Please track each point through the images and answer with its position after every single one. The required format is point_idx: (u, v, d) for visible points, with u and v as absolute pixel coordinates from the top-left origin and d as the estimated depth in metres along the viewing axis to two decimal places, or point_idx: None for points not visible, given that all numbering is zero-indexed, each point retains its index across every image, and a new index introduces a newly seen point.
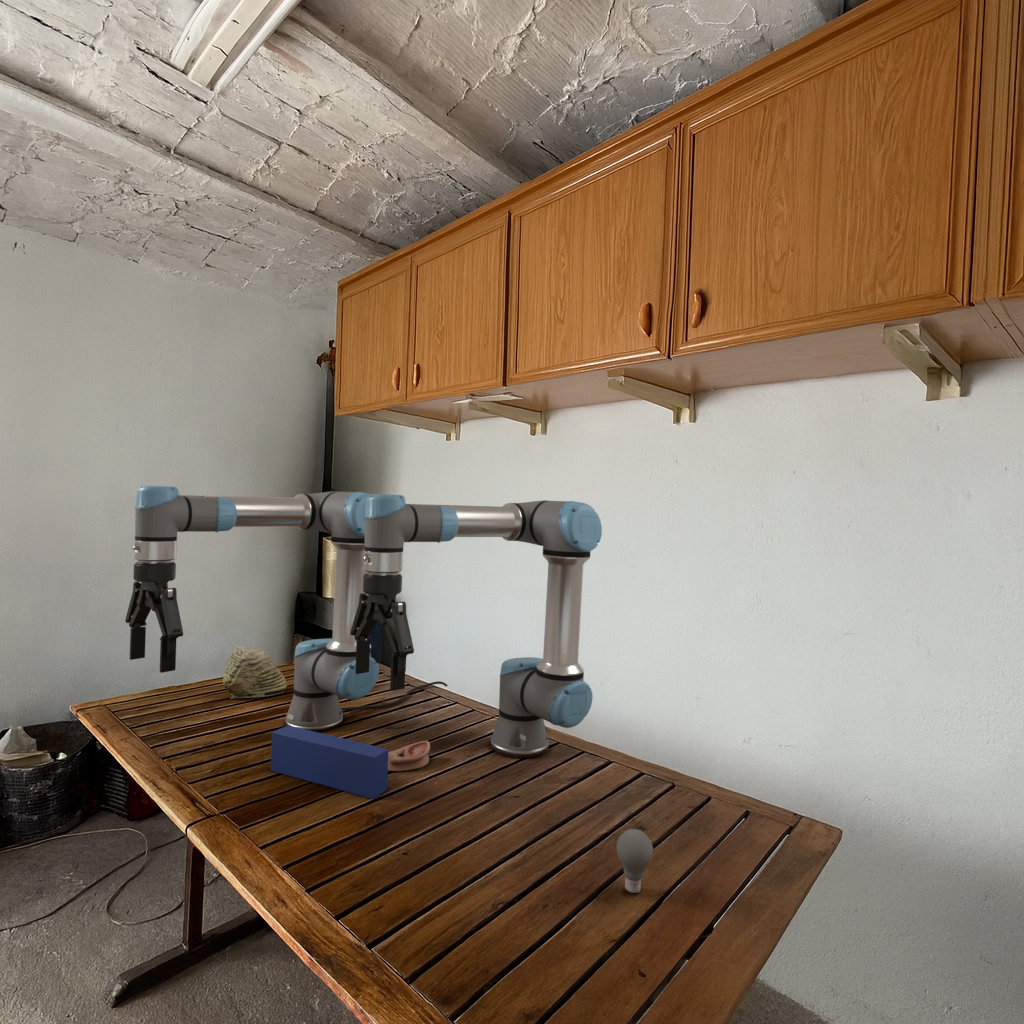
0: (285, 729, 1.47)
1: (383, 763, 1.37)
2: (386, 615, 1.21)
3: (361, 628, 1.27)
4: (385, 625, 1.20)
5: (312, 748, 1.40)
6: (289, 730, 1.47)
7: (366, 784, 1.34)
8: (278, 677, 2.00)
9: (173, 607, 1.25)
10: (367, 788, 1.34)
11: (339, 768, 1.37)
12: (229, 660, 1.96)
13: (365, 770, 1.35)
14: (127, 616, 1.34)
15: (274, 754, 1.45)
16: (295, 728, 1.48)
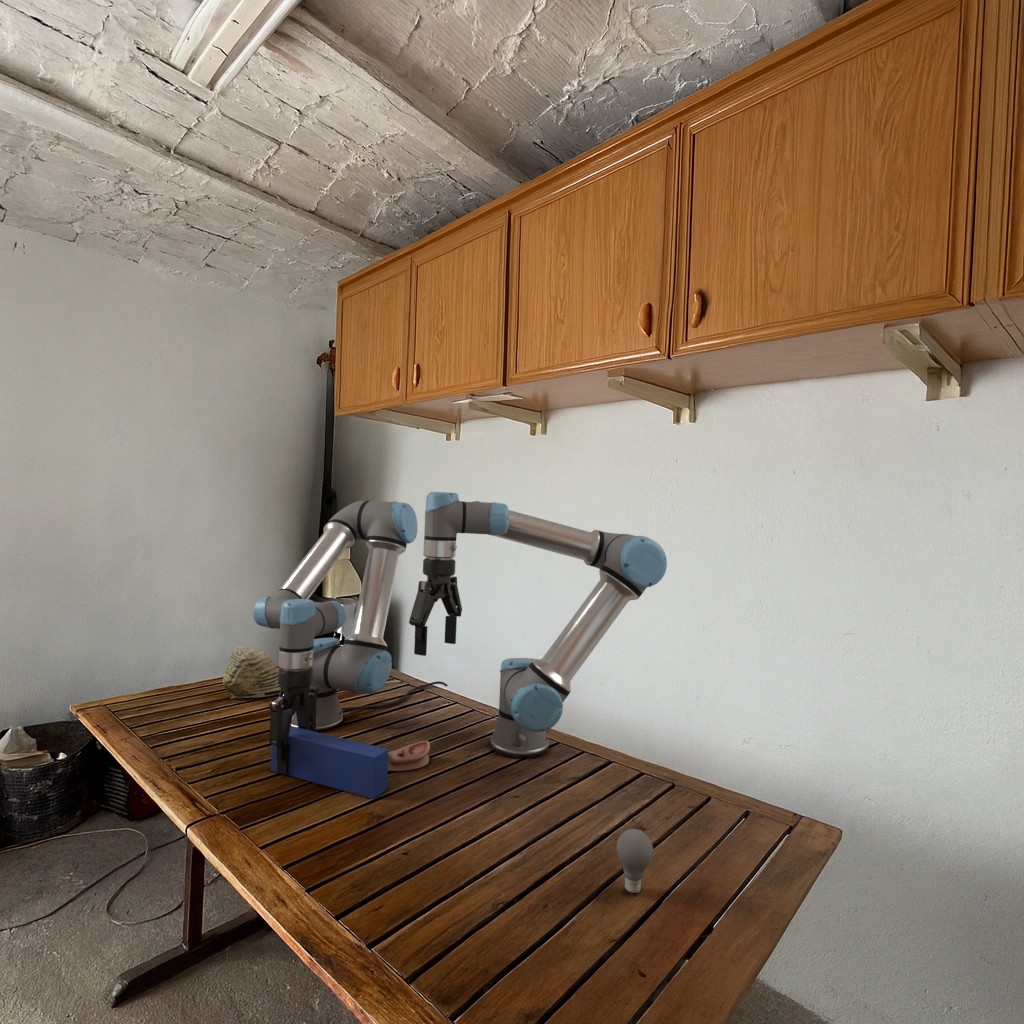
0: None
1: (383, 763, 1.37)
2: None
3: (429, 612, 1.42)
4: None
5: (312, 748, 1.40)
6: None
7: (366, 784, 1.34)
8: None
9: None
10: (367, 788, 1.34)
11: (339, 768, 1.37)
12: (229, 660, 1.96)
13: (365, 770, 1.35)
14: (279, 738, 1.40)
15: (274, 754, 1.45)
16: (295, 728, 1.48)
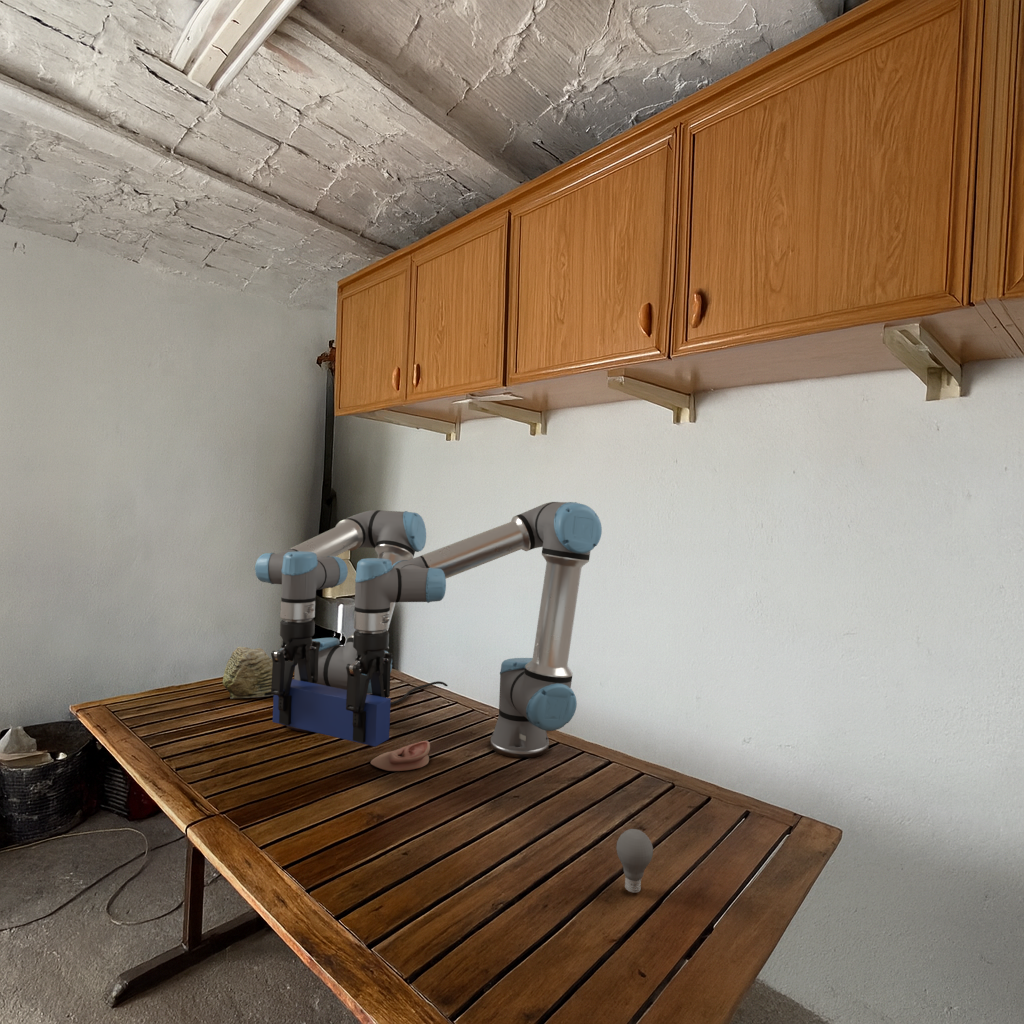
0: None
1: (386, 712, 1.37)
2: None
3: (365, 694, 1.34)
4: (380, 675, 1.39)
5: (314, 698, 1.40)
6: (291, 682, 1.47)
7: (368, 732, 1.34)
8: None
9: None
10: (369, 736, 1.34)
11: (341, 717, 1.37)
12: (229, 660, 1.96)
13: (368, 718, 1.34)
14: (281, 688, 1.40)
15: (276, 705, 1.45)
16: (297, 681, 1.48)
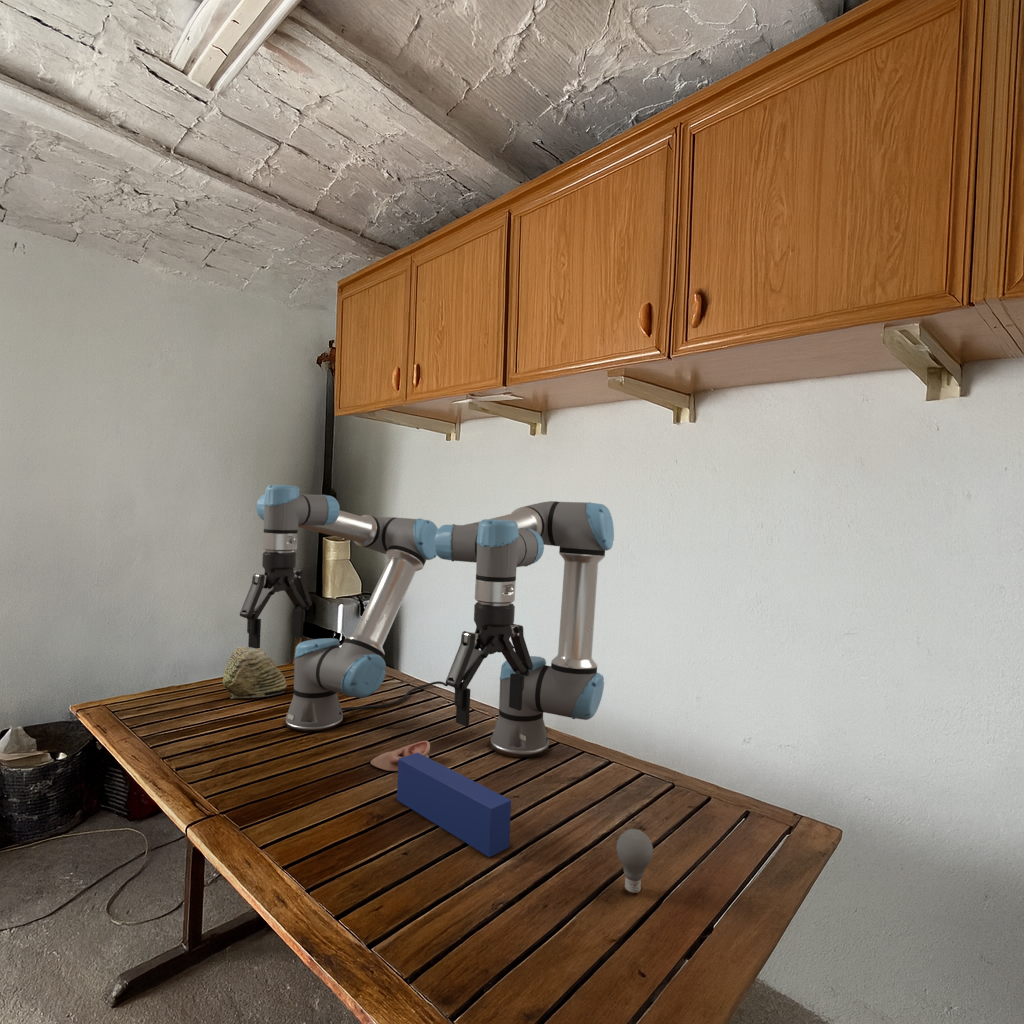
0: (413, 756, 1.35)
1: (504, 816, 1.16)
2: None
3: (474, 671, 1.13)
4: (511, 651, 1.20)
5: (433, 784, 1.25)
6: (416, 758, 1.34)
7: (483, 838, 1.15)
8: (278, 677, 2.00)
9: None
10: (483, 843, 1.15)
11: (457, 813, 1.20)
12: (229, 660, 1.96)
13: (482, 821, 1.15)
14: (251, 610, 1.39)
15: (400, 783, 1.33)
16: (423, 757, 1.35)
